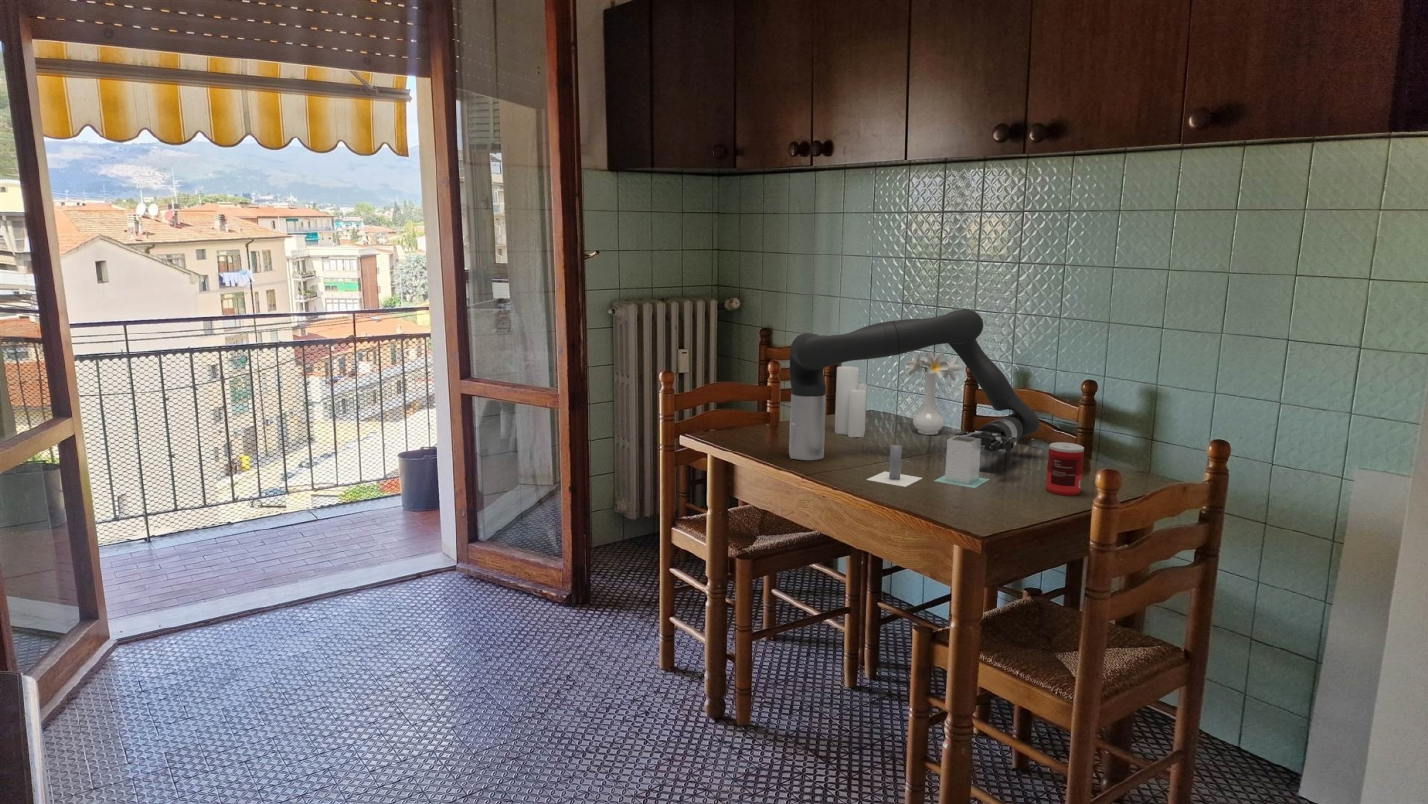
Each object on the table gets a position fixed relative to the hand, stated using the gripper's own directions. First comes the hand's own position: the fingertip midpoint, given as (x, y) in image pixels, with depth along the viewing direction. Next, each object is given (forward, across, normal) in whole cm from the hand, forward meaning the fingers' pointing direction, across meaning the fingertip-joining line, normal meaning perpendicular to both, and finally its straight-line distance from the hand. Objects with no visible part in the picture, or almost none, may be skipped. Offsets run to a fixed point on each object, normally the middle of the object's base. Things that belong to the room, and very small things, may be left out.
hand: (974, 446), depth 217 cm
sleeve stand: (+16, -13, +8) cm, 23 cm away
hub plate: (+7, 0, +9) cm, 11 cm away
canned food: (-4, +20, +9) cm, 23 cm away
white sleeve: (+7, 0, +7) cm, 10 cm away
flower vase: (-46, -32, +9) cm, 57 cm away
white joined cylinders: (-29, -49, +9) cm, 58 cm away
